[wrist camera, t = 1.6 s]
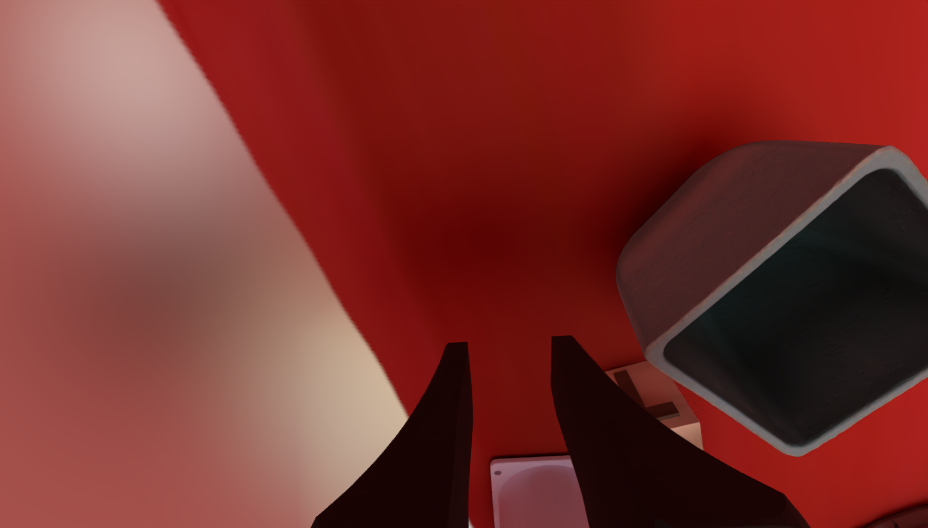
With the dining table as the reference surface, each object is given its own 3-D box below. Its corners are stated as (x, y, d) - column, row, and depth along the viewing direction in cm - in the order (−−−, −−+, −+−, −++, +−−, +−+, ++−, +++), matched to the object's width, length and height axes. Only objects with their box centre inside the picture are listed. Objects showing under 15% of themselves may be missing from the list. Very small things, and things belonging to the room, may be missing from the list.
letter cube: (667, 412, 27) (707, 482, 23) (593, 430, 28) (617, 501, 23) (657, 353, 25) (699, 418, 20) (576, 374, 26) (600, 441, 21)
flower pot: (707, 102, 18) (897, 137, 10) (820, 211, 21) (1046, 309, 13) (573, 246, 22) (638, 358, 14) (684, 326, 24) (795, 462, 16)
